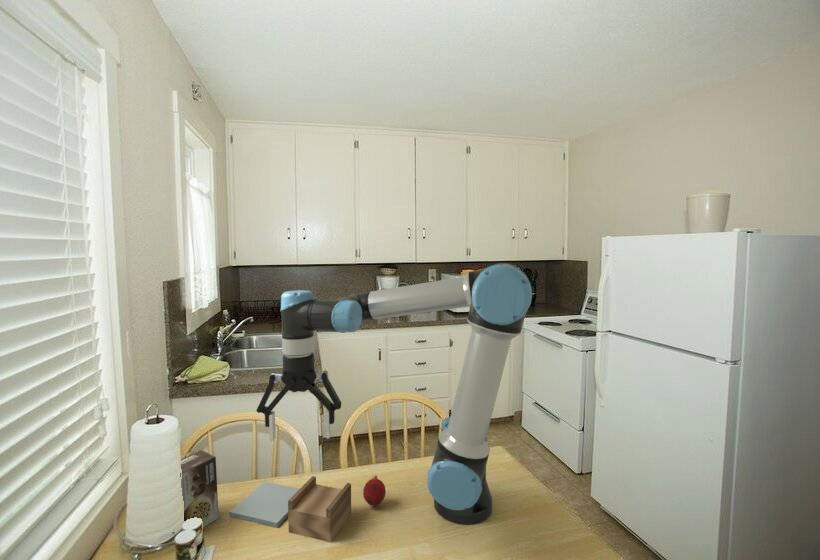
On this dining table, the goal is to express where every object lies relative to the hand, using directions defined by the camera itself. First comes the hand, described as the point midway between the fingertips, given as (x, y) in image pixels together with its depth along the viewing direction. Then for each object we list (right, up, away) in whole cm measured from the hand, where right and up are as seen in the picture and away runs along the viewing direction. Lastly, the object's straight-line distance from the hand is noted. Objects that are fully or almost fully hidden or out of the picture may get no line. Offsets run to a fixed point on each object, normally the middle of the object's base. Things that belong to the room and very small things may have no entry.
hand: (300, 437), depth 102 cm
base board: (-9, -20, +5) cm, 22 cm away
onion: (+18, -20, +5) cm, 27 cm away
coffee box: (-25, -20, -3) cm, 33 cm away
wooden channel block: (+5, -20, -2) cm, 21 cm away
